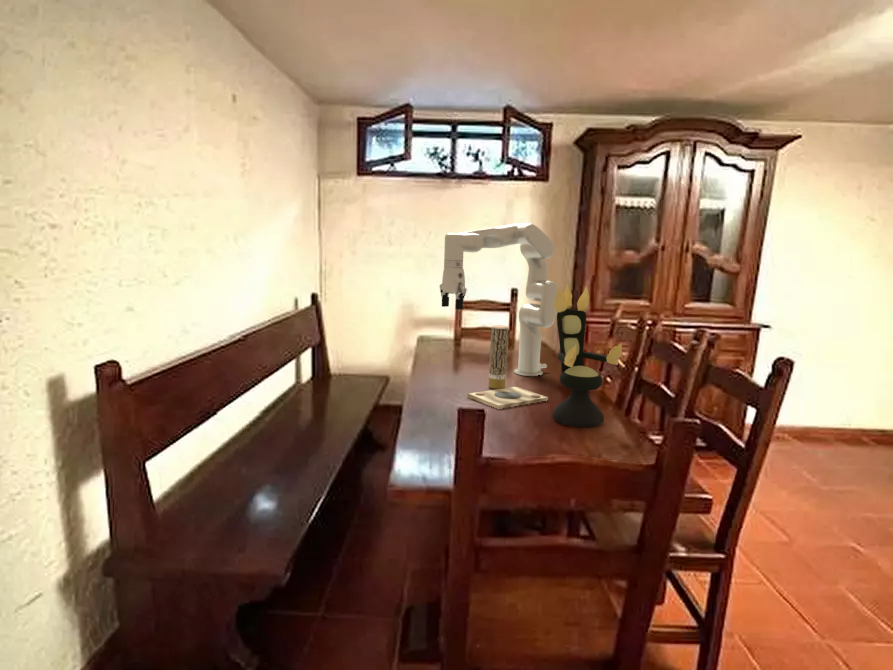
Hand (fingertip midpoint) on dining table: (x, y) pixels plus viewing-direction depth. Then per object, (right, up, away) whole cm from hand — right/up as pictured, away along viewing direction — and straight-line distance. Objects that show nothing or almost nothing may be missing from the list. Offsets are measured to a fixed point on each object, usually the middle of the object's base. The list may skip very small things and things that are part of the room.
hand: (452, 307), depth 236 cm
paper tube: (+18, -32, +2) cm, 37 cm away
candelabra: (+40, -40, -38) cm, 68 cm away
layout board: (+21, -35, -15) cm, 43 cm away
